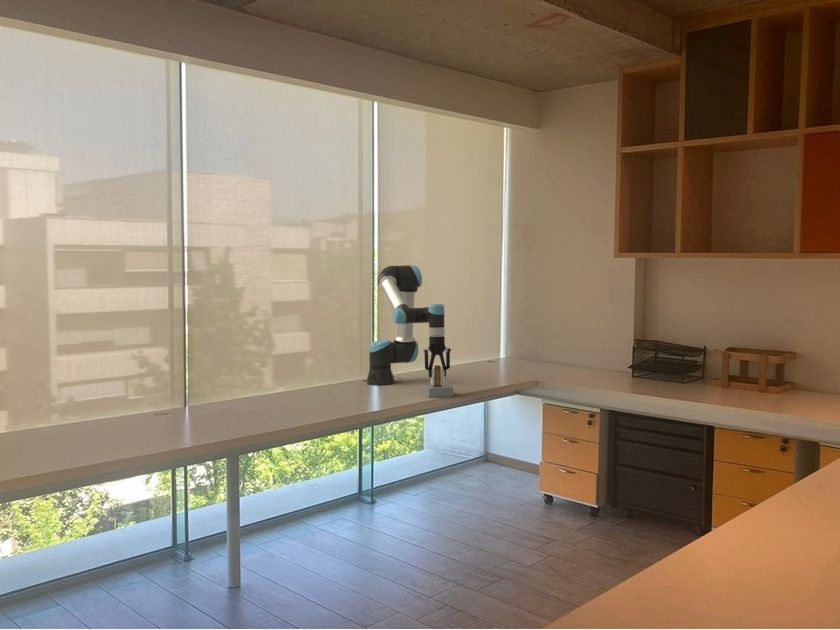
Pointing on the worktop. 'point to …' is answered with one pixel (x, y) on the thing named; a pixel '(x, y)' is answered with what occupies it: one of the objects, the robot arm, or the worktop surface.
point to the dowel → (437, 375)
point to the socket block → (437, 391)
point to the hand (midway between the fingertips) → (437, 383)
